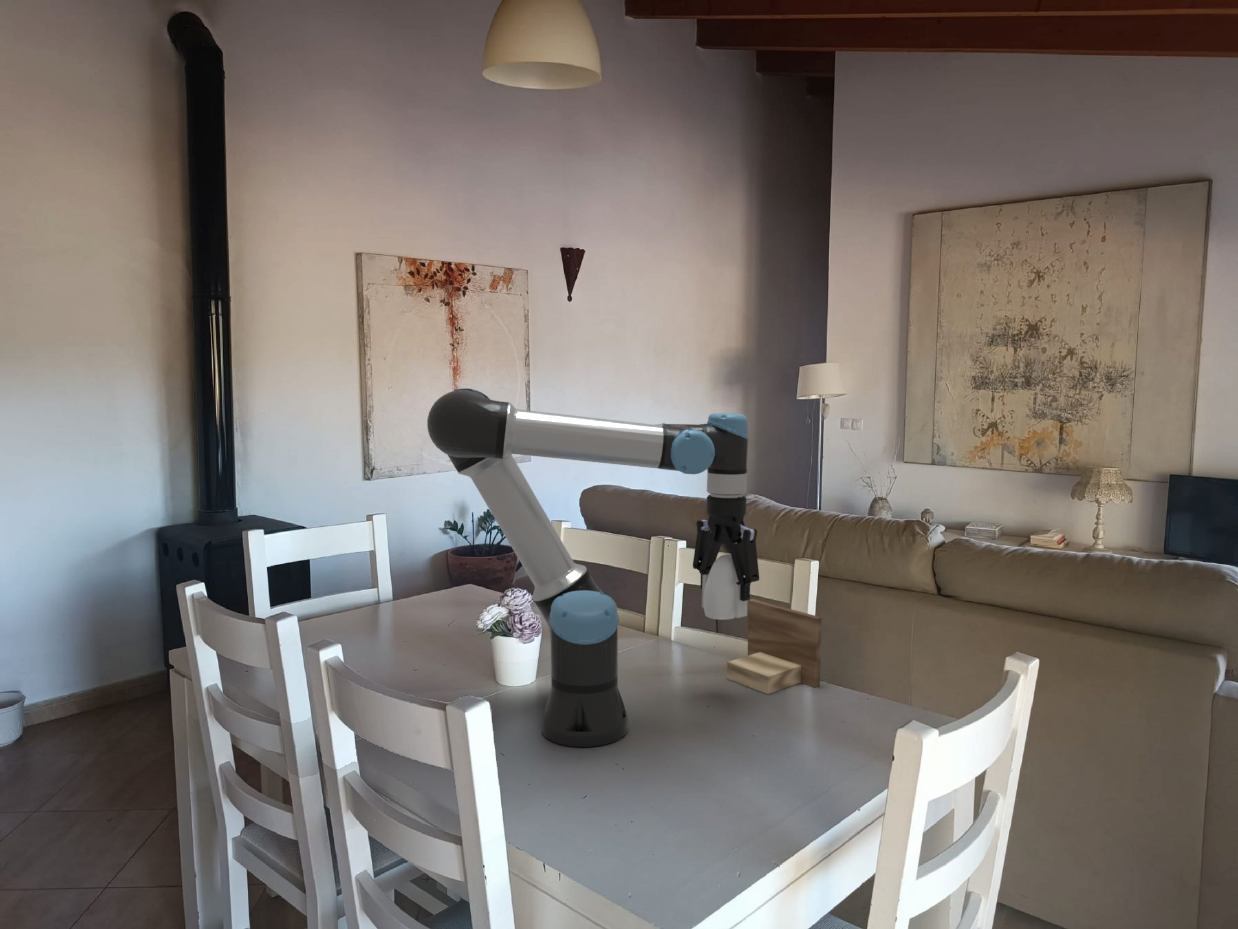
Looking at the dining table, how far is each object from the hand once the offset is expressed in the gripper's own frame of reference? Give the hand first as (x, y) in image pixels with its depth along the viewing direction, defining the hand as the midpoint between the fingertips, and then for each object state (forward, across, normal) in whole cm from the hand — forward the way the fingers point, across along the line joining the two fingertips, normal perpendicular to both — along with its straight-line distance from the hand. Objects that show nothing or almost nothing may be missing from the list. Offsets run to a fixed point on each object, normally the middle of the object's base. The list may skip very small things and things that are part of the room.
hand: (724, 611), depth 166 cm
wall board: (+16, 0, -13) cm, 21 cm away
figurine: (+1, 0, 0) cm, 1 cm away
